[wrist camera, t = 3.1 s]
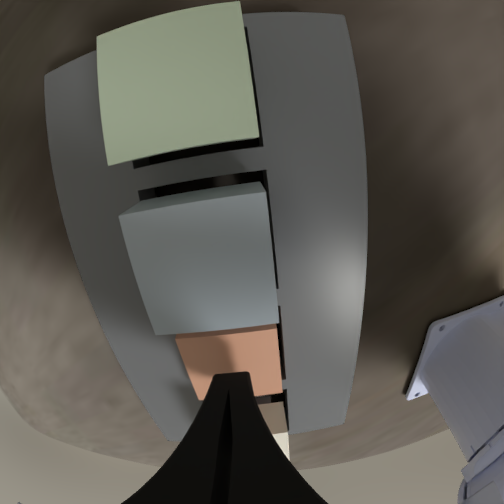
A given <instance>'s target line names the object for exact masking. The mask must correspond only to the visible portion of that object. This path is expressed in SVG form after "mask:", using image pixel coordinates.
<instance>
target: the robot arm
mask: <svg viewBox="0 0 504 504" xmlns="http://www.w3.org/2000/svg"><path fill="white" fill-rule="evenodd" d="M427 393H429V394H430V396H431V398H432V399H433V401H434V403H435V404H436V406H437V408H438V409H439V411H440V413H441V414H442V416H443V418H444V420H445V421H446V423H447V425H448V427H449V428H450V430H451V432H452V434H453V436H454V437H455V439H456V441H457V443H458V445H459V447H460V449H461V450H462V452H463V454H464V456H465V458H466V460H467V462H469V463H468V464H467V465H466V466H465V467H464V468H463V469H462V470H461V472H462V474H463V476H464V479H463V481H462V483H461V485H460V488H459V493H458V504H504V295H503V296H501V297H498V298H496V299H494V300H491V301H489V302H486V303H484V304H481V305H479V306H476V307H474V308H471V309H468V310H466V311H463V312H460V313H458V314H455V315H452V316H449V317H446V318H443V319H440V320H437V321H435V322H433V323H432V324H431V325H430V326H429V328H428V332H427V335H426V339H425V342H424V345H423V349H422V352H421V355H420V358H419V361H418V364H417V367H416V369H415V372H414V375H413V378H412V380H411V383H410V385H409V388H408V391H407V393H406V396H405V397H406V399H407V400H412V399H414V398H417V397H419V396H422V395H424V394H427ZM18 504H21V503H20V502H18ZM121 504H328V503H327V502H326V501H325V500H323V498H321V497H320V496H319V495H318V494H317V493H316V492H315V490H314V489H312V487H311V486H310V485H309V484H308V483H307V482H306V481H305V480H304V478H303V477H302V476H301V475H300V474H299V472H298V471H297V470H296V469H295V467H294V466H293V465H292V464H291V462H290V461H289V460H288V458H287V457H286V455H285V454H284V453H283V451H282V449H281V448H280V446H279V445H278V443H277V442H276V440H275V438H274V437H273V435H272V433H271V431H270V430H269V428H268V426H267V424H266V422H265V420H264V418H263V416H262V413H261V411H260V409H259V407H258V404H257V402H256V399H255V396H254V391H253V386H252V381H251V376H250V373H249V372H247V371H243V372H232V373H220V374H215V375H214V376H213V378H212V381H211V384H210V386H209V389H208V391H207V394H206V396H205V398H204V400H203V403H202V405H201V407H200V409H199V411H198V413H197V415H196V417H195V419H194V421H193V422H192V424H191V426H190V427H189V429H188V431H187V433H186V434H185V436H184V438H183V439H182V441H181V442H180V444H179V445H178V446H177V448H176V449H175V451H174V452H173V453H172V455H171V456H170V457H169V458H168V460H167V461H166V462H165V463H164V465H163V466H162V467H161V468H160V469H159V470H158V471H157V473H156V474H155V475H154V476H153V477H152V478H151V479H150V480H149V481H148V482H146V483H145V485H143V486H142V487H141V488H140V489H139V490H138V491H137V492H136V493H134V494H133V495H132V496H131V497H130V498H128V499H127V500H125V501H124V502H123V503H121Z"/></svg>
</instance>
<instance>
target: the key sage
mask: <svg viewBox="0 0 504 504" xmlns="http://www.w3.org/2000/svg"><path fill="white" fill-rule="evenodd" d="M97 73H98V89H99V102H100V112H101V121H102V129H103V137H104V144H105V150H106V157H107V162H108V166H110V165H115V164H119V163H124V162H129V161H134V160H138V159H142V158H146V157H150V156H155V155H159V154H164V153H169V152H173V151H178V150H184V149H189V148H194V147H200V146H206V145H212V144H218V143H225V142H232V141H240V140H247V139H255V138H258V137H259V130H258V122H257V115H256V107H255V100H254V92H253V85H252V78H251V71H250V64H249V57H248V50H247V44H246V37H245V30H244V24H243V18H242V11H241V5H240V1H235V2H226V3H218V4H211V5H205V6H199V7H193V8H188V9H183V10H179V11H174V12H170V13H166V14H162V15H158V16H155V17H151V18H148V19H144V20H141V21H138V22H135V23H132V24H129V25H126V26H123V27H120V28H117V29H115V30H112V31H109V32H107V33H104V34H102V35H99V36H97Z"/></svg>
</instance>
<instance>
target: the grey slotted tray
mask: <svg viewBox="0 0 504 504" xmlns="http://www.w3.org/2000/svg"><path fill="white" fill-rule="evenodd" d="M242 18H243V24H244V30H245V37H246V44H247V50H248V57H249V64H250V71H251V78H252V85H253V92H254V100H255V107H256V115H257V122H258V130H259V137H258V139H259V146H258V147H249V148H242V149H234V150H227V151H220V152H214V153H207V154H202V155H196V156H190V157H185V158H179V159H174V160H169V161H164V162H160V163H155V164H151V165H150V160H149V157H146V158H142V159H138V160H134V161H129V162H124V163H119V164H115V165H110V166H108V162H107V157H106V150H105V144H104V137H103V129H102V121H101V112H100V102H99V89H98V73H97V50H95V51H92V52H90V53H88V54H85V55H83V56H81V57H79V58H77V59H75V60H73V61H70V62H68V63H66V64H64V65H62V66H60V67H59V68H57V69H55V70H53V71H51V72H49V73H47V74H46V75H44V93H45V113H46V125H47V135H48V143H49V151H50V158H51V164H52V170H53V176H54V181H55V186H56V191H57V196H58V200H59V204H60V209H61V213H62V217H63V221H64V224H65V228H66V232H67V235H68V239H69V242H70V245H71V248H72V252H73V255H74V258H75V261H76V264H77V267H78V270H79V273H80V275H81V278H82V281H83V284H84V286H85V289H86V291H87V294H88V296H89V299H90V301H91V304H92V306H93V309H94V311H95V313H96V316H97V318H98V320H99V322H100V325H101V327H102V329H103V331H104V333H105V336H106V338H107V340H108V342H109V344H110V346H111V348H112V350H113V352H114V354H115V356H116V358H117V360H118V361H119V363H120V365H121V367H122V369H123V371H124V373H125V374H126V376H127V378H128V380H129V381H130V383H131V385H132V387H133V388H134V390H135V392H136V393H137V395H138V397H139V398H140V400H141V402H142V403H143V405H144V406H145V408H146V409H147V411H148V413H149V414H150V416H151V417H152V419H153V420H154V422H155V423H156V424H157V426H158V427H159V429H160V430H161V432H162V433H163V435H164V436H165V437H166V439H167V440H168V441H182V439H183V438H184V436H185V434H186V433H187V431H188V429H189V427H190V426H191V424H192V422H193V421H194V419H195V417H196V415H197V413H198V411H199V409H200V407H201V405H202V403H203V400H199V399H198V397H197V394H196V392H195V389H194V387H193V385H192V382H191V380H190V377H189V375H188V372H187V370H186V367H185V365H184V362H183V359H182V357H181V354H180V351H179V349H178V346H177V343H176V340H175V337H176V334H167V335H155V332H154V330H153V327H152V324H151V322H150V319H149V316H148V314H147V311H146V308H145V305H144V302H143V299H142V296H141V293H140V290H139V287H138V284H137V281H136V278H135V275H134V271H133V268H132V265H131V261H130V258H129V255H128V251H127V247H126V244H125V240H124V236H123V232H122V228H121V224H120V220H119V215H121V214H122V213H123V212H125V211H126V210H128V209H129V208H131V207H132V206H134V205H136V204H137V203H139V202H140V201H142V200H147V199H152V198H156V194H155V188H154V187H158V186H163V185H168V184H174V183H179V182H185V181H190V180H196V179H202V178H209V177H215V176H222V175H228V174H236V173H243V172H251V171H259V170H262V172H263V180H264V189H265V191H266V196H267V205H268V214H269V223H270V233H271V242H272V252H273V261H274V271H275V281H276V292H277V302H278V313H279V334H280V346H281V354H279V357H280V368H281V379H282V390H283V389H284V395H285V408H284V412H285V418H286V424H287V430H288V435H290V434H296V433H302V432H308V431H313V430H318V429H323V428H328V427H332V426H337V425H341V424H344V421H345V417H346V413H347V408H348V403H349V399H350V394H351V389H352V383H353V378H354V372H355V366H356V360H357V354H358V347H359V340H360V332H361V324H362V315H363V305H364V294H365V281H366V264H367V238H368V191H367V166H366V150H365V137H364V126H363V117H362V108H361V100H360V93H359V86H358V80H357V73H356V68H355V62H354V57H353V52H352V47H351V42H350V37H349V33H348V28H347V24H346V20H345V16H344V15H338V14H327V13H311V12H264V13H248V14H242Z"/></svg>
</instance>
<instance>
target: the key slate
mask: <svg viewBox="0 0 504 504" xmlns="http://www.w3.org/2000/svg"><path fill="white" fill-rule="evenodd" d="M119 220H120V224H121V228H122V232H123V236H124V240H125V244H126V247H127V251H128V255H129V258H130V261H131V265H132V268H133V271H134V275H135V278H136V281H137V284H138V287H139V290H140V293H141V296H142V299H143V302H144V305H145V308H146V311H147V314H148V316H149V319H150V322H151V324H152V327H153V330H154V332H155V335H167V334H182V333H194V332H206V331H216V330H226V329H235V328H244V327H252V326H260V325H267V324H275V323H279V313H278V302H277V292H276V281H275V271H274V261H273V252H272V242H271V233H270V223H269V214H268V205H267V196H266V191H265V189H264V188H263V186H262V184H261V182H252V183H244V184H237V185H230V186H223V187H216V188H209V189H203V190H197V191H191V192H185V193H179V194H174V195H168V196H163V197H157V198H152V199H147V200H142V201H140V202H139V203H137V204H136V205H134V206H132V207H131V208H129V209H128V210H126V211H125V212H123V213H122V214H121V215H119Z"/></svg>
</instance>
